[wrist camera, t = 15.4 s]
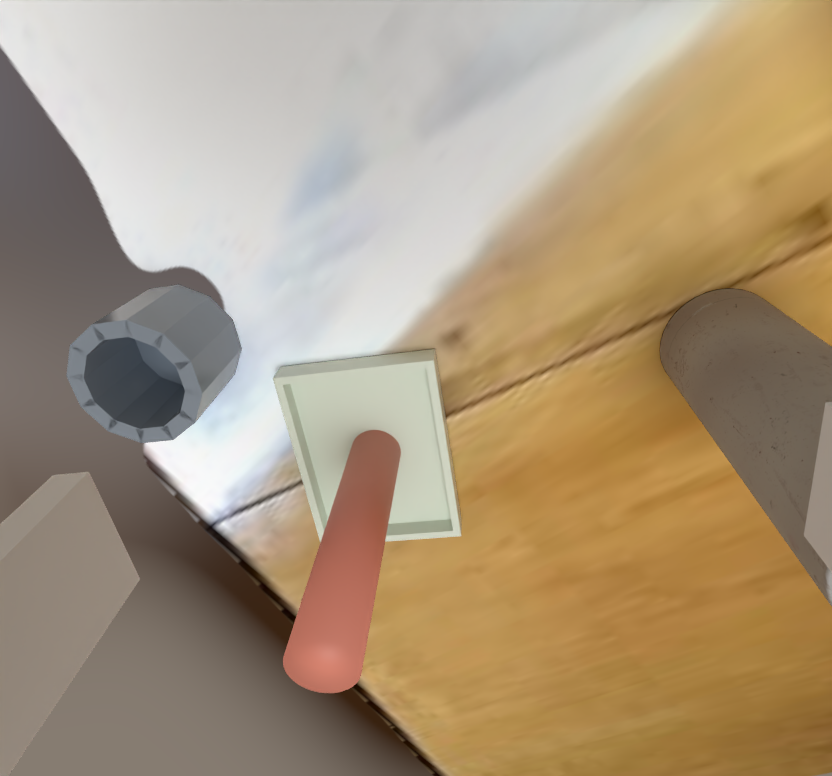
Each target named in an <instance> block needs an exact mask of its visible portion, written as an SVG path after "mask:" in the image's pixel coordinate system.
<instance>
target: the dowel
mask: <svg viewBox="0 0 832 776" xmlns="http://www.w3.org/2000/svg"><path fill="white" fill-rule="evenodd" d="M400 456H401V449H400V446H399V443H398V442H397V440H396V439H395V438H394V437H393V436H392V435H390V434H388V433H386V432H384V431H380V430H368V431H365V432H363V433H361V434H359V435H358V436H357V437H356V438H355V440H354V441H353V444H352V447H351V450H350V453H349V456H348V459H347V462H346V465H345V469H344V472H343V475H342V478H341V481H340V484H339V487H338V490H337V493H336V496H335V499H334V503H333V506H332V509H331V512H330V515H329V518H328V521H327V524H326V527H325V530H324V533H323V537H322V540H321V543H320V546H319V549H318V552H317V555H316V558H315V561H314V564H313V567H312V571H311V574H310V577H309V580H308V583H307V586H306V589H305V592H304V595H303V598H302V601H301V605H300V608H299V611H298V614H297V617H296V620H295V623H294V626H293V629H292V632H291V635H290V639H289V642H288V645H287V648H286V651H285V654H284V657H283V666H284V669H285V671H286V673H287V674H288V676H289V677H290V678H291V679H292V680H293V681H294V682H296V683H297V684H299V685H300V686H302V687H304V688H306V689H309V690H312V691H316V692H320V693H336V692H342V691H345V690H347V689H349V688H351V687H353V686H354V685H355V684H356V683H357V682H358V680H359V679H360V676H361V672H362V667H363V661H364V655H365V650H366V644H367V639H368V633H369V628H370V622H371V617H372V611H373V606H374V600H375V595H376V589H377V584H378V578H379V573H380V567H381V561H382V556H383V550H384V545H385V539H386V534H387V528H388V523H389V517H390V512H391V506H392V501H393V495H394V490H395V484H396V479H397V473H398V468H399V462H400Z"/></svg>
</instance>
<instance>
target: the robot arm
mask: <svg viewBox="0 0 832 776" xmlns="http://www.w3.org/2000/svg"><path fill="white" fill-rule="evenodd" d="M804 537H805V538H806V539H807V540H808V542H809V543H810V544H811V546H812V547H813V548H814V550H815V551H816V552H817V554H818V555H819V556H820V558H821V559H822V560H823V562H824V563H825V564H826V566H827V567H828V568H829V570H830V571H831V572H832V402H826V403H825V408H824V414H823V421H822V427H821V433H820V439H819V445H818V451H817V457H816V463H815V469H814V475H813V482H812V488H811V494H810V500H809V506H808V512H807V518H806V524H805V530H804ZM139 580H140V578H139V576H138V574H137V572H136V570H135V568H134V565H133V564H132V561H131V559H130V557H129V555H128V553H127V551H126V549H125V547H124V544H123V542H122V540H121V538H120V536H119V534H118V532H117V530H116V528H115V526H114V524H113V522H112V519H111V517H110V515H109V513H108V511H107V509H106V507H105V505H104V503H103V500H102V498H101V496H100V494H99V492H98V490H97V488H96V486H95V484H94V482H93V480H92V478H91V475H90V473H89V472H82V473H72V474H61V475H53V476H52V477H51V478H50V479H48V480H47V481H46V482H45V483H44V484H43V485H42V486H41V487H40V488H39V489H38V490H37V491H36V492H34V493H33V494H32V495H31V496H30V497H29V498H28V499H27V500H26V501H25V502H24V503H23V504H22V505H20V506H19V507H18V508H17V509H16V510H15V511H14V512H13V513H12V514H11V515H10V516H9V517H8V518H6V519H5V520H4V521H3V522H2V523H1V524H0V776H8V775H9V774H10V772H11V771H12V769H13V768H14V766H15V765H16V763H17V762H18V760H19V759H20V757H21V756H22V754H23V753H24V751H25V750H26V748H27V747H28V745H29V744H30V743H31V741H32V739H33V738H34V737H35V735H36V734H37V732H38V731H39V729H40V728H41V726H42V725H43V723H44V722H45V720H46V719H47V717H48V716H49V714H50V713H51V711H52V710H53V708H54V707H55V705H56V704H57V702H58V701H59V699H60V698H61V696H62V695H63V693H64V692H65V690H66V689H67V687H68V686H69V684H70V683H71V681H72V680H73V678H74V677H75V675H76V674H77V672H78V671H79V669H80V668H81V666H82V665H83V663H84V662H85V660H86V659H87V657H88V656H89V654H90V653H91V651H92V650H93V648H94V647H95V646H96V644H97V643H98V641H99V640H100V638H101V637H102V635H103V634H104V632H105V631H106V629H107V628H108V626H109V625H110V623H111V621H112V620H113V619H114V617H115V616H116V614H117V612H118V611H119V609H120V608H121V607H122V605H123V604H124V602H125V601H126V599H127V598H128V596H129V595H130V593H131V592H132V590H133V589H134V587H135V586H136V584H137V583H138V581H139Z"/></svg>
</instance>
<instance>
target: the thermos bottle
mask: <svg viewBox="0 0 832 776" xmlns="http://www.w3.org/2000/svg"><path fill="white" fill-rule="evenodd" d="M660 356H661V362H662V365H663V367H664V369H665V371H666V373H667V374H668V376H669V377H670V379H671V380H672V381H673V383H674V384H675V386H676V387H677V388H678V390H679V391H680V393H681V394H682V395H683V397H684V398H685V400H686V401H687V403H688V404H689V405H690V407H691V408H692V410H693V411H694V412H695V414H696V415H697V417H698V418H699V419H700V421H701V422H702V424H703V425H704V427H705V428H706V429H707V431H708V432H709V434H710V435H711V436H712V438H713V439H714V441H715V442H716V444H717V445H718V446H719V448H720V449H721V451H722V452H723V453H724V455H725V456H726V458H727V459H728V460H729V462H730V463H731V465H732V466H733V468H734V469H735V470H736V472H737V473H738V475H739V476H740V477H741V479H742V480H743V482H744V483H745V485H746V486H747V487H748V489H749V490H750V492H751V493H752V494H753V496H754V497H755V499H756V500H757V501H758V503H759V504H760V506H761V507H762V509H763V510H764V511H765V513H766V514H767V516H768V517H769V518H770V520H771V521H772V523H773V524H774V525H775V527H776V528H777V530H778V531H779V533H780V534H781V535H782V537H783V538H784V540H785V541H786V542H787V544H788V545H789V547H790V548H791V550H792V551H793V552H794V554H795V555H796V557H797V558H798V559H799V561H800V562H801V564H802V565H803V566H804V568H805V569H806V571H807V572H808V574H809V575H810V576H811V578H812V579H813V581H814V582H815V583H816V585H817V586H818V588H819V589H820V591H821V592H822V593H823V595H824V596H825V598H826V599H827V600H828V602H829V603H830V605H831V606H832V572H831V571H830V570H829V568H828V567H827V566H826V564H825V563H824V562H823V560H822V559H821V558H820V556H819V555H818V554H817V552H816V551H815V550H814V548H813V547H812V546H811V544H810V543H809V542H808V540H807V539H806V538H805V537H804V530H805V524H806V518H807V512H808V506H809V500H810V494H811V488H812V482H813V475H814V469H815V463H816V457H817V451H818V445H819V439H820V433H821V427H822V421H823V414H824V408H825V403H826V402H832V347H831V346H830V345H828V344H827V343H826V342H824V341H823V340H821V339H820V338H818V337H817V336H816V335H814V334H813V333H811V332H810V331H808V330H807V329H806V328H804V327H803V326H801V325H800V324H798V323H797V322H796V321H794V320H793V319H791V318H790V317H788V316H787V315H786V314H784V313H783V312H781V311H780V310H779V309H777V308H776V307H774V306H773V305H771V304H770V303H769V302H767V301H766V300H764V299H763V298H761V297H759V296H757V295H756V294H754V293H751V292H748V291H745V290H740V289H720V290H715V291H711V292H708V293H705V294H703V295H700V296H698V297H696V298H694V299H693V300H691V301H690V302H688V303H686V304H685V305H684V306H683V307H682V308H681V309H679V310H678V311H677V312H676V313H675V315H674V316H673V317H672V318H671V320H670V321H669V323H668V325H667V326H666V328H665V330H664V333H663V336H662V339H661V345H660Z"/></svg>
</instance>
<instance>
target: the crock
mask: <svg viewBox="0 0 832 776" xmlns="http://www.w3.org/2000/svg"><path fill="white" fill-rule="evenodd" d="M240 353H241V345H240V342H239V339H238V336H237V332H236V329H235V326H234V323H233V320H232V319H231V318H230V317H229V316H228V315H227V314H226V313H225V312H224V310H223V309H222V308H221V307H219V305H218V304H217V303H216V302H215V301H214V300H213V299H212V298H211V297H210V296H208V295H205V294H203V293H200V292H198V291H195V290H192V289H190V288H187V287H184V286H182V285H179V284H178V285H171V286H164V287H157V288H150V289H148V290H146V291H145V292H143V293H142V294H140V295H138V296H137V297H135V298H133V299H132V300H130V301H129V302H127V303H126V304H124V305H122V306H121V307H119V308H117V309H116V310H114V311H113V312H111V313H109V314H108V315H106V316H104V317H103V318H101V319H100V320H98V321H96V322H95V323H93V324H92V325H91V326H90V327H89V328H88V329H87V330H85V332H83V333H82V334H81V335H80V336H79V337H78V338H77V339H76V340H75V341H74V342H73V343H72V344H71V345H70V350H69V359H68V369H67V378H68V380H69V382H70V384H71V386H72V389H73V391H74V393H75V395H76V397H77V400H78V402H79V404H80V406H81V407H82V409H84V410H85V411H86V412H87V413H88V414H89V415H90V416H92V417H93V418H94V419H95V420H96V421H97V422H98V423H99V424H101V425H102V426H103V427H104V428H105V429H106V430H107V431H109V432H112V433H115V434H117V435H120V436H123V437H126V438H129V439H132V440H134V441H137V442H140V443H147V442H157V441H167V440H174V439H175V438H176V437H177V436H179V435H180V434H181V433H182V432H184V431H185V430H186V429H187V428H189V427H190V426H191V425H192V424H194V423H195V422H196V421H197V420H198V418H199V417H200V416H201V415H202V414H203V412H204V411H205V410H206V409H207V407H208V406H209V405H210V404H211V403H212V401H213V400H214V399H215V398H216V397H217V395H218V394H219V393H220V392H221V390H222V389H223V388H224V387H225V386H226V384H227V383H228V382H229V381H230V379H231V378H232V377H233V376H234V375H235V371H236V368H237V364H238V360H239V356H240Z"/></svg>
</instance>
